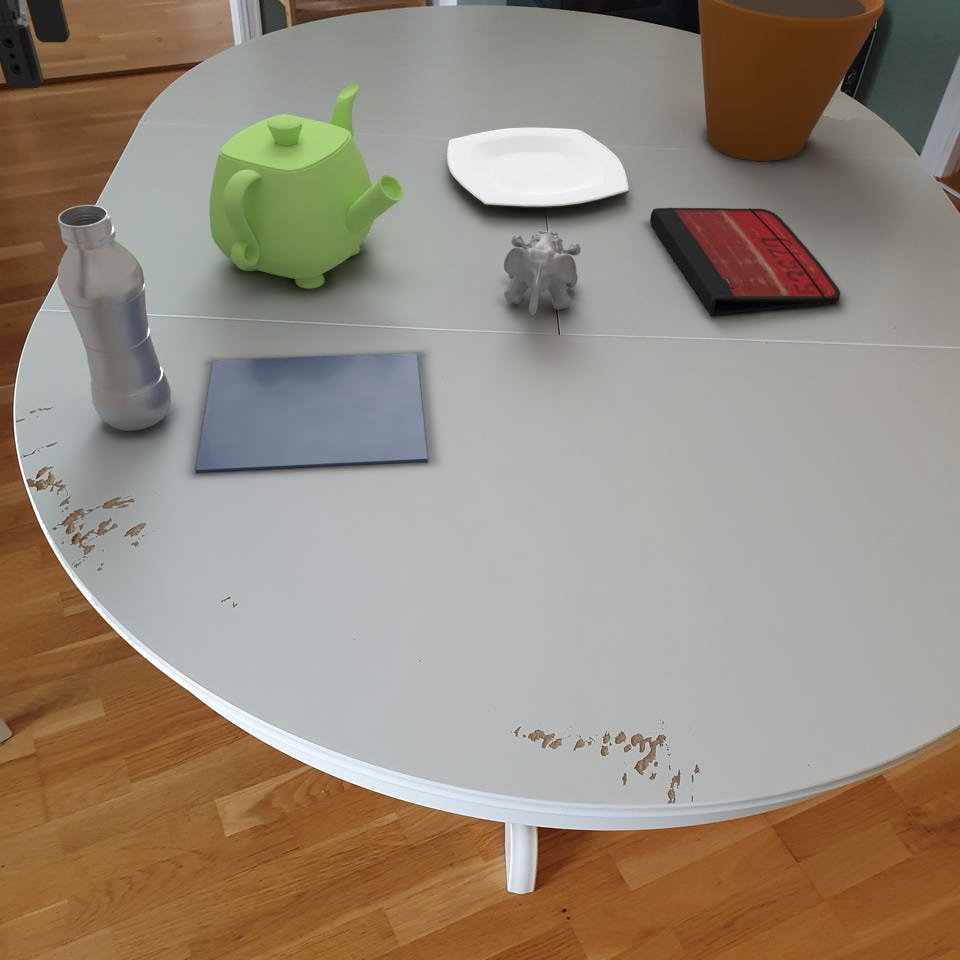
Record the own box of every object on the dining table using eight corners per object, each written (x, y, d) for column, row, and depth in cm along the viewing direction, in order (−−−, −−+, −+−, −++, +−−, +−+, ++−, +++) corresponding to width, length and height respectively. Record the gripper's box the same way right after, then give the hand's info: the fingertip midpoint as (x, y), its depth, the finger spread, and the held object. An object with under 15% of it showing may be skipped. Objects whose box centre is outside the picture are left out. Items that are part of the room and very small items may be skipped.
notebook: (714, 298, 100) (651, 206, 114) (709, 316, 101) (647, 223, 116) (850, 293, 103) (772, 203, 118) (843, 311, 104) (766, 221, 119)
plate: (587, 135, 135) (588, 121, 134) (648, 210, 119) (651, 195, 117) (430, 147, 130) (430, 133, 129) (472, 227, 114) (473, 212, 112)
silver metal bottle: (103, 398, 88) (42, 198, 74) (178, 392, 89) (132, 194, 75) (95, 443, 83) (29, 239, 69) (174, 436, 84) (124, 233, 70)
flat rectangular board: (195, 472, 81) (195, 470, 80) (213, 362, 92) (212, 360, 92) (427, 461, 83) (427, 458, 83) (416, 355, 94) (416, 352, 94)
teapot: (353, 336, 96) (343, 191, 86) (182, 283, 103) (152, 142, 92) (459, 230, 113) (462, 98, 102) (306, 191, 119) (294, 62, 108)
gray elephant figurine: (570, 275, 106) (577, 213, 101) (597, 335, 98) (606, 270, 93) (490, 280, 105) (493, 217, 100) (510, 341, 97) (514, 276, 91)
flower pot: (799, 192, 124) (844, 32, 110) (642, 142, 134) (666, -10, 120) (864, 136, 138) (911, -12, 124) (717, 95, 148) (746, -47, 134)
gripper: (-70, -250, 58) (10, 28, 69) (-157, -216, 48) (-47, 103, 59) (56, -246, 59) (115, 28, 70) (-3, -212, 49) (77, 103, 60)
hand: (41, 62), depth 64 cm, fingers open, 8 cm apart
